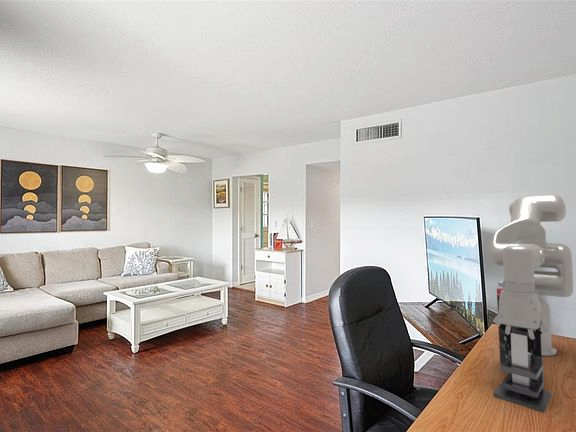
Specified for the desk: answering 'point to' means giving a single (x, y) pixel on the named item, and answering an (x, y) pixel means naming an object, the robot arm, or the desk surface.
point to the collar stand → (521, 395)
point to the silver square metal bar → (520, 357)
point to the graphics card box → (503, 338)
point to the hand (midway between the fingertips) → (521, 348)
